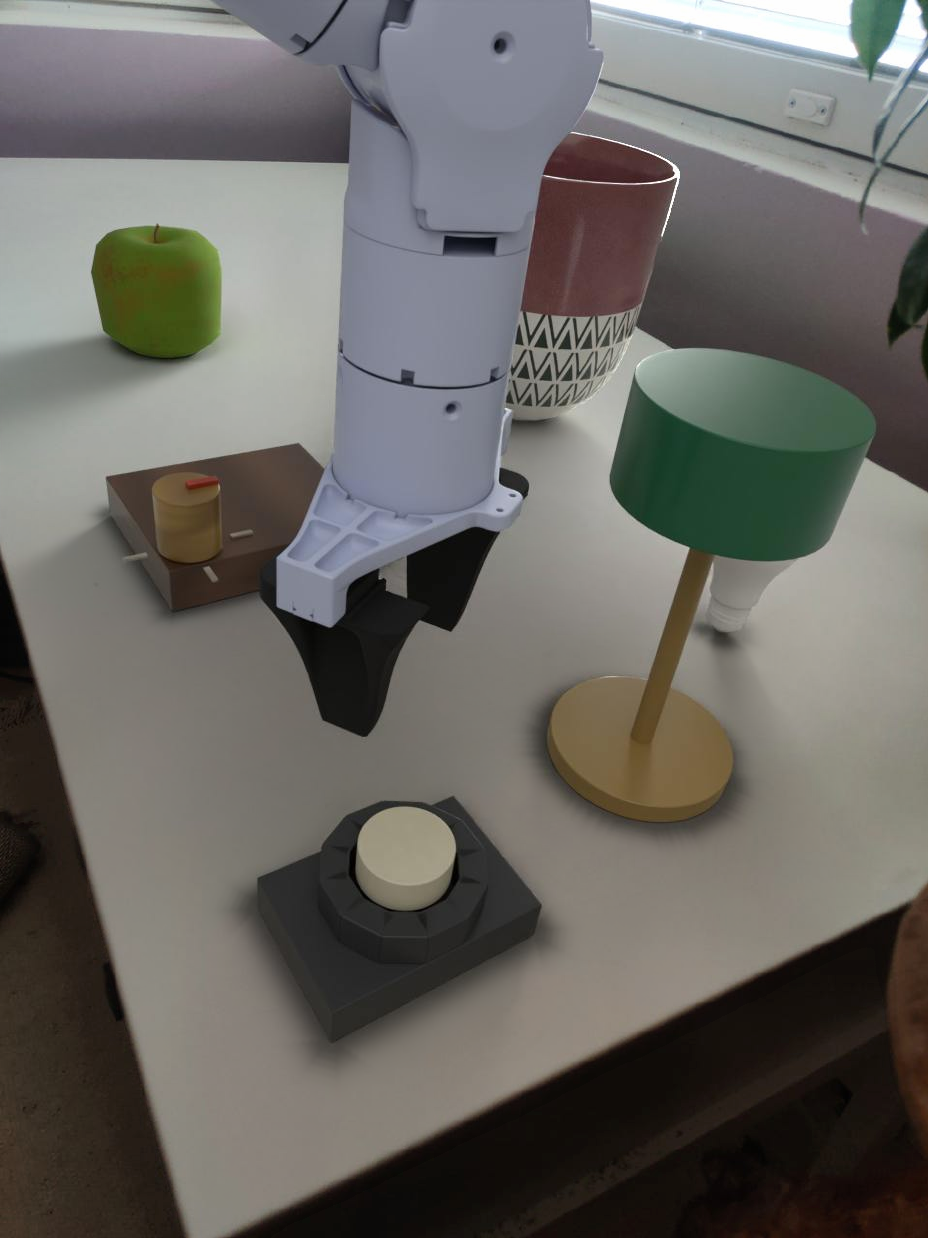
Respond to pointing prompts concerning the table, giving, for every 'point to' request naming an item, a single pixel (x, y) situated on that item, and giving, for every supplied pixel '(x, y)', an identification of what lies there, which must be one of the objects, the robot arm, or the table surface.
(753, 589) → the lightbulb
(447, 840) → the button
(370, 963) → the switch block
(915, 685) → the table surface
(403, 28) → the robot arm
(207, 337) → the apple
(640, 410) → the desk lamp
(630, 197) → the planter
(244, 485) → the dimmer panel
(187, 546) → the dimmer knob
